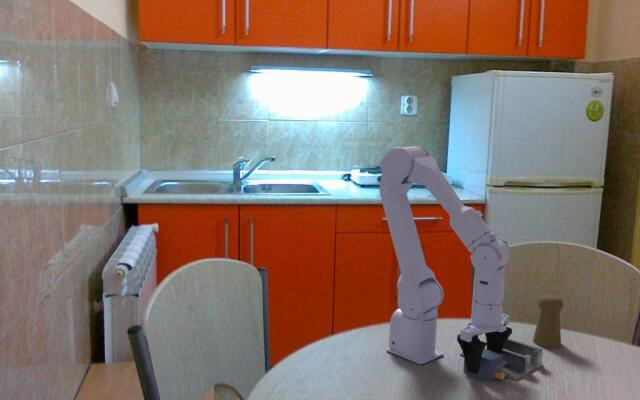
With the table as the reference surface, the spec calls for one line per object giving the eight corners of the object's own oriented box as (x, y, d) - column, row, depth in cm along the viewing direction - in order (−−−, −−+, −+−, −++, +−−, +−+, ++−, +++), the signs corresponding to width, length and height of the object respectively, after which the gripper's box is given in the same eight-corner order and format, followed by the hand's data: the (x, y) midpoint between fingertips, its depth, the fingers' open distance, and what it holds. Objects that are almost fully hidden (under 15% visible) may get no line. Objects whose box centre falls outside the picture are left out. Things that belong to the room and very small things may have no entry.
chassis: (467, 361, 127) (468, 345, 127) (495, 348, 135) (496, 333, 134) (516, 380, 119) (517, 363, 119) (542, 364, 127) (544, 348, 126)
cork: (563, 349, 135) (568, 301, 133) (534, 346, 136) (539, 299, 135) (558, 339, 141) (563, 293, 139) (531, 336, 142) (535, 290, 140)
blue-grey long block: (459, 370, 123) (460, 349, 123) (470, 364, 126) (471, 344, 125) (497, 385, 117) (499, 363, 117) (508, 379, 120) (509, 357, 119)
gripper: (485, 314, 112) (480, 384, 114) (525, 298, 122) (519, 363, 124) (453, 304, 117) (448, 371, 119) (493, 289, 127) (488, 352, 129)
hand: (482, 366), depth 122 cm, fingers open, 7 cm apart
